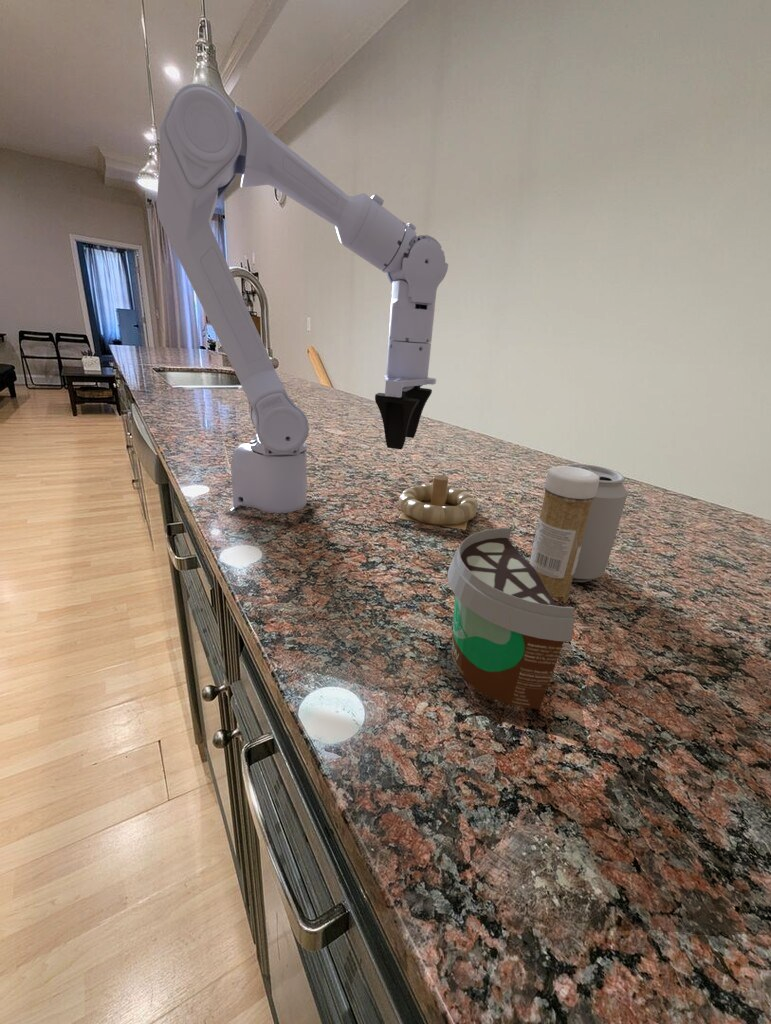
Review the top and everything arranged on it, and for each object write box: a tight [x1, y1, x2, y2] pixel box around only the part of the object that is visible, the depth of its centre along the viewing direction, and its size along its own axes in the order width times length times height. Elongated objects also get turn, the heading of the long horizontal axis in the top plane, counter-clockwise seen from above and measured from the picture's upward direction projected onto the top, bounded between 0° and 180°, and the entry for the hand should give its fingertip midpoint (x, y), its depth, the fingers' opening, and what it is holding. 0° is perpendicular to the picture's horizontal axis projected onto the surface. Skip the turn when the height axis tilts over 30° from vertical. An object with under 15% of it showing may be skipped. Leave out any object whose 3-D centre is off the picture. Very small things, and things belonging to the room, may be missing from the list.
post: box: [398, 475, 469, 531], centre depth 62 cm, size 9×9×6 cm
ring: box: [397, 484, 479, 526], centre depth 62 cm, size 11×11×2 cm
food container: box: [446, 527, 576, 710], centre depth 33 cm, size 12×6×10 cm, turn 5°
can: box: [564, 463, 629, 583], centre depth 50 cm, size 8×8×12 cm
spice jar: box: [529, 465, 599, 605], centre depth 44 cm, size 5×5×13 cm
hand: (401, 442), depth 64 cm, fingers open, 7 cm apart
